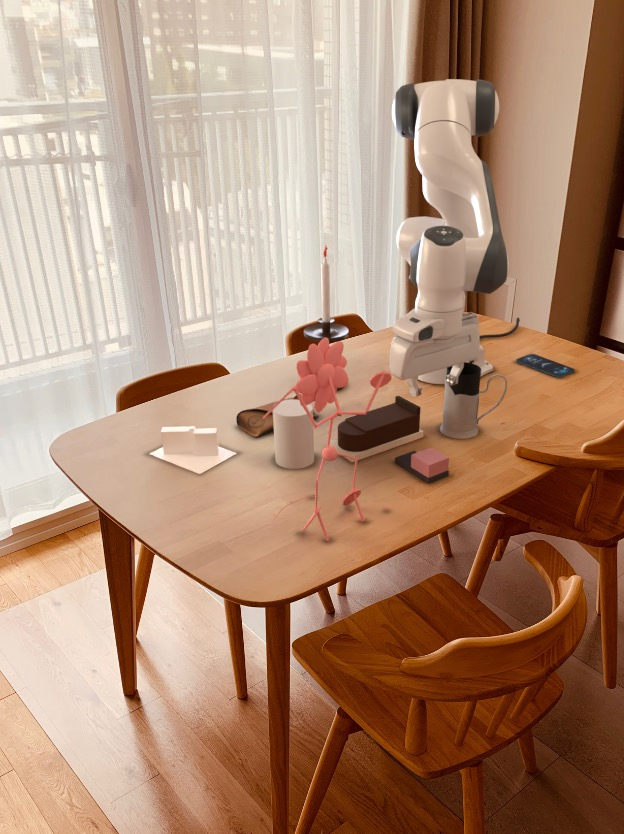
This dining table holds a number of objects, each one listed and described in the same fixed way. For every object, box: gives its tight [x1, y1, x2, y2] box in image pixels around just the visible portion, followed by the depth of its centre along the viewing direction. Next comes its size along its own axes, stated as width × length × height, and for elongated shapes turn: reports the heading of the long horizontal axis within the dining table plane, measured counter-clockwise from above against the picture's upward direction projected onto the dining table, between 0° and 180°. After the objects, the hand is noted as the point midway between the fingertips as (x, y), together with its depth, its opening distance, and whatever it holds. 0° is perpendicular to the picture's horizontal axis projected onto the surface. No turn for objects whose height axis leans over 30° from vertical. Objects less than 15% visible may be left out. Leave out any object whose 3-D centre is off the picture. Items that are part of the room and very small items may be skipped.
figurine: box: [263, 337, 393, 542], centre depth 141 cm, size 15×26×35 cm, turn 137°
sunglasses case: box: [235, 393, 320, 438], centre depth 184 cm, size 18×7×7 cm, turn 131°
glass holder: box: [439, 362, 508, 440], centre depth 179 cm, size 9×14×15 cm, turn 91°
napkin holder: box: [149, 425, 237, 475], centre depth 169 cm, size 15×11×6 cm
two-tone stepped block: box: [394, 447, 450, 484], centre depth 166 cm, size 11×5×4 cm, turn 39°
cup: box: [273, 399, 315, 470], centre depth 166 cm, size 8×8×12 cm
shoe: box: [329, 395, 425, 463], centre depth 175 cm, size 20×8×8 cm, turn 129°
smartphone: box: [515, 353, 576, 378], centre depth 216 cm, size 8×1×15 cm
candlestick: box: [303, 244, 350, 393], centre depth 193 cm, size 11×11×35 cm
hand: (434, 389), depth 155 cm, fingers open, 8 cm apart
